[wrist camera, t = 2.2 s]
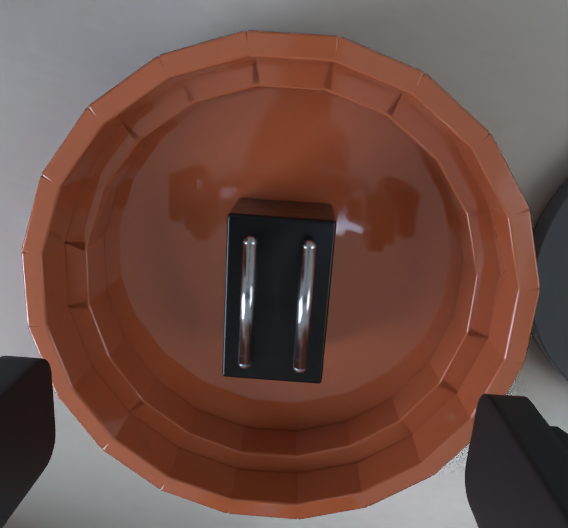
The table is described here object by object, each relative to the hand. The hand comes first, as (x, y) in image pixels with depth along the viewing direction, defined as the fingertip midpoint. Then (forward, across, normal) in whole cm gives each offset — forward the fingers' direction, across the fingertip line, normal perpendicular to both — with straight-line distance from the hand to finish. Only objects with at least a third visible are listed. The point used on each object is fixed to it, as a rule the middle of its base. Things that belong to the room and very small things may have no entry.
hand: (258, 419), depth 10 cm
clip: (+8, 0, 0) cm, 8 cm away
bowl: (+9, 0, 0) cm, 9 cm away
